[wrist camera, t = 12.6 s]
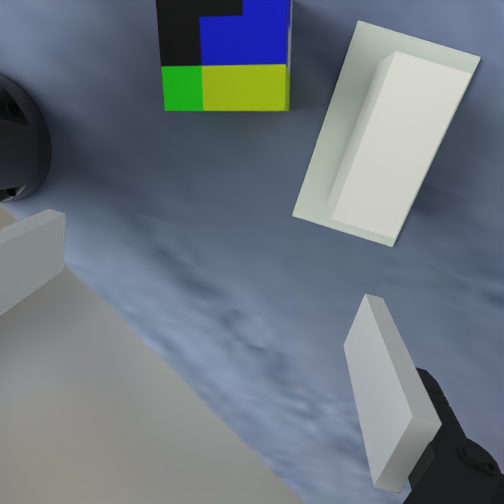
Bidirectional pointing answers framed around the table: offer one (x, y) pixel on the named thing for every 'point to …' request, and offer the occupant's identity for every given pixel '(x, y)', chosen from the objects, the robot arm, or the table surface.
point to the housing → (394, 141)
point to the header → (347, 112)
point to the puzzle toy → (225, 54)
